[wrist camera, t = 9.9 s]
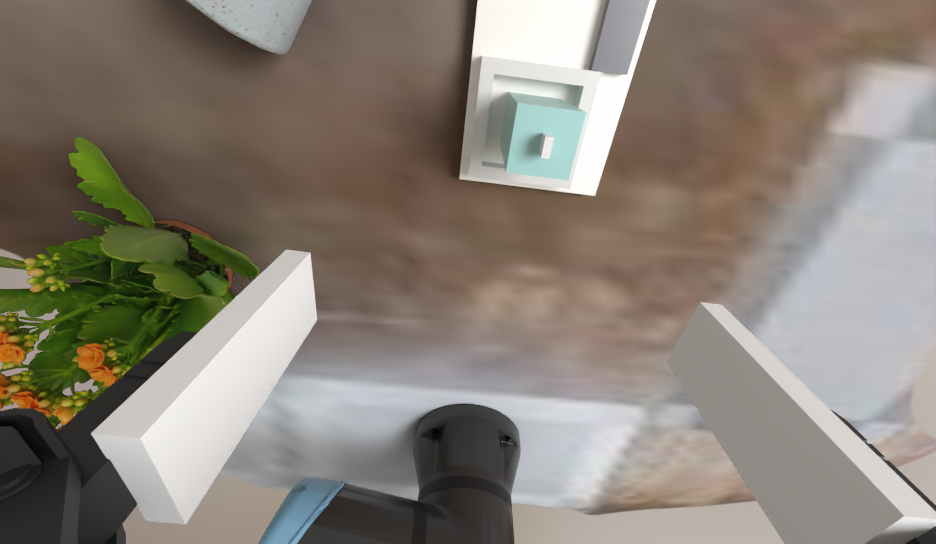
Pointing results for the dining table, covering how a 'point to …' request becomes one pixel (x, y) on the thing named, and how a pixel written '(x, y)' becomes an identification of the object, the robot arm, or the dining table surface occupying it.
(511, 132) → the block
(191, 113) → the dining table surface
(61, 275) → the potted flower
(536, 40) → the outlet plate
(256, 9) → the ceramic mug
